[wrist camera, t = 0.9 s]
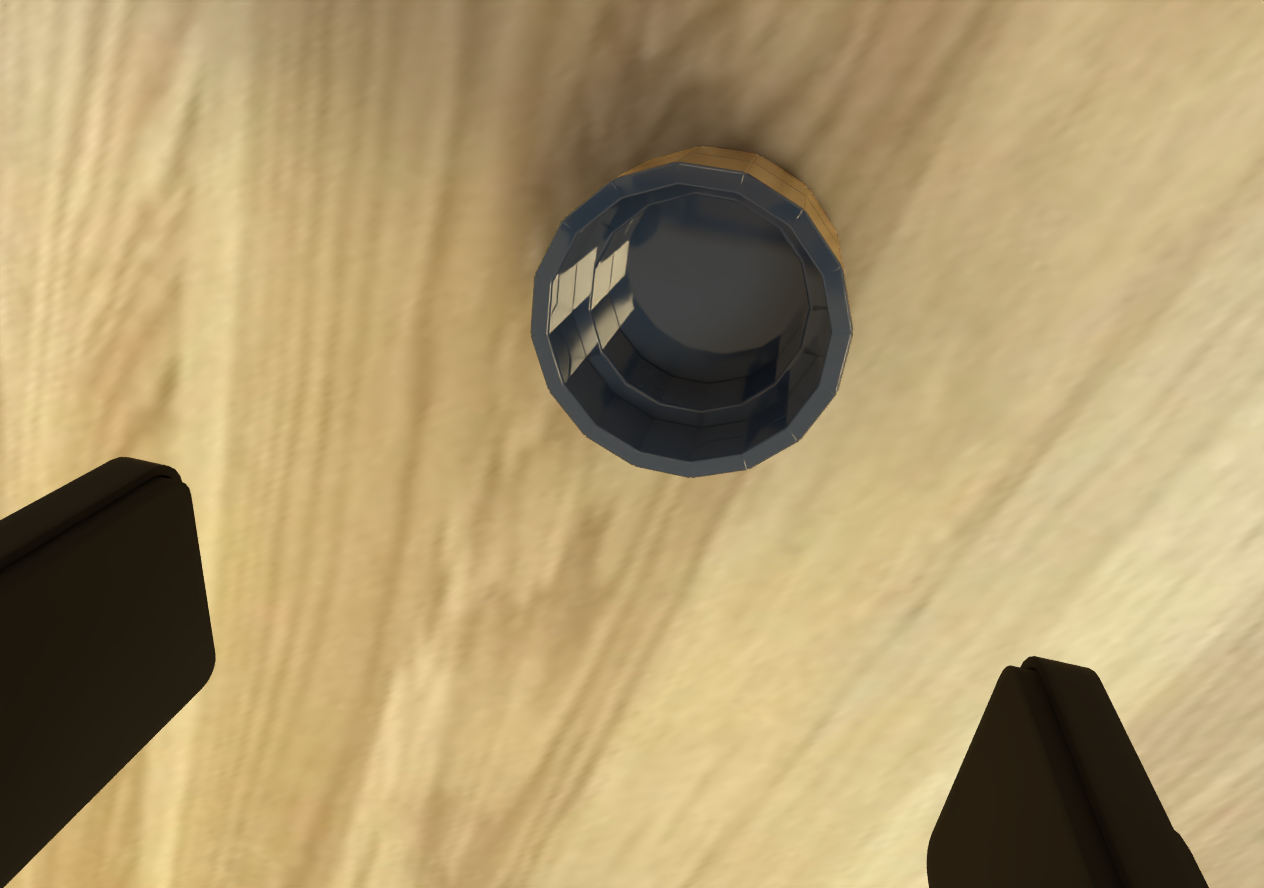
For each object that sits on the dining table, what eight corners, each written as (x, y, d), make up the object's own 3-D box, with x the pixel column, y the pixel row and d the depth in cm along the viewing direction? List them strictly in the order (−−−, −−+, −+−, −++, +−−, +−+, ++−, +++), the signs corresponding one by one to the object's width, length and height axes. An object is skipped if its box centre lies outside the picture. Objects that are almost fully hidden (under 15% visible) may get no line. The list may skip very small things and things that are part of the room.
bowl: (596, 127, 20) (542, 140, 16) (873, 169, 19) (890, 194, 15) (572, 379, 23) (522, 443, 19) (809, 426, 22) (808, 503, 18)
